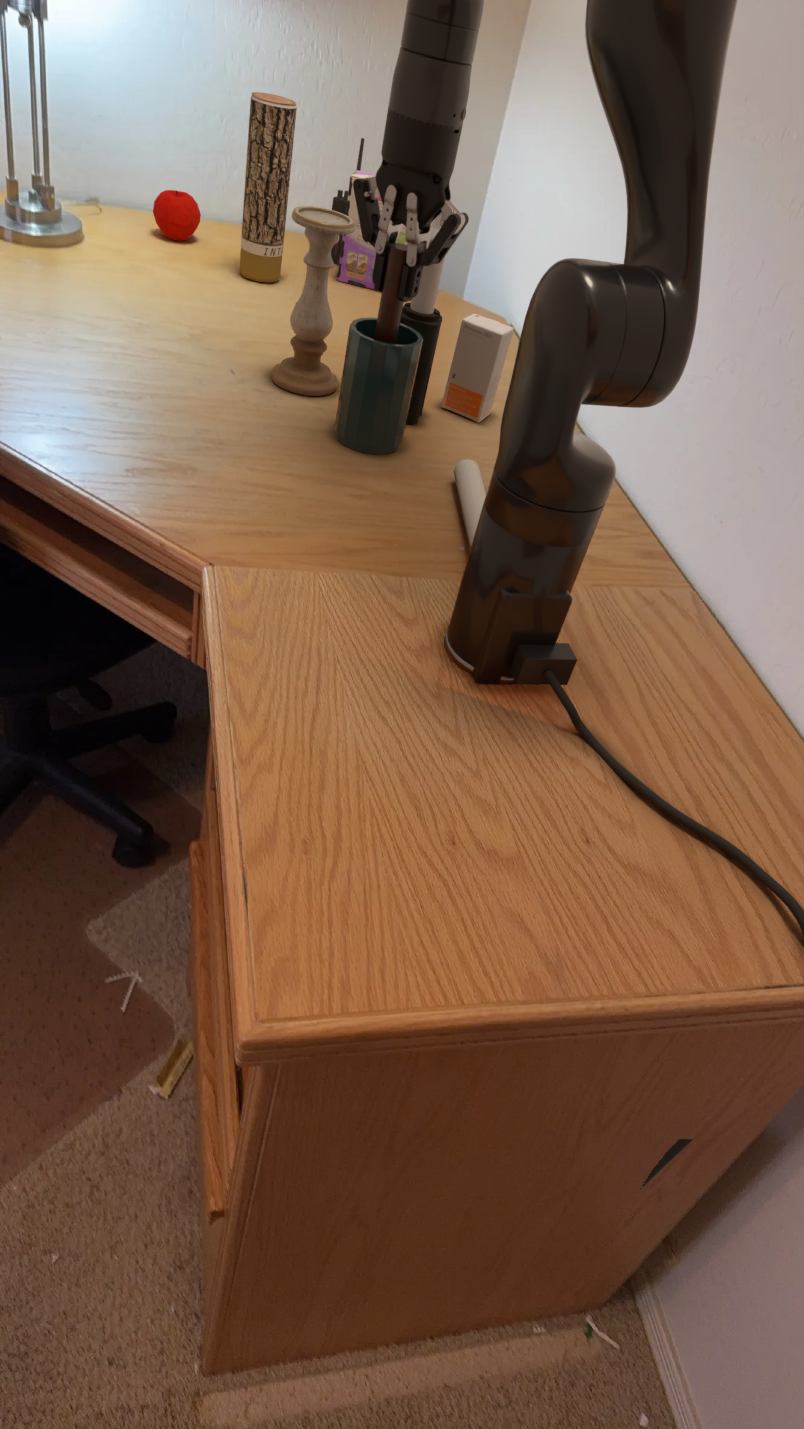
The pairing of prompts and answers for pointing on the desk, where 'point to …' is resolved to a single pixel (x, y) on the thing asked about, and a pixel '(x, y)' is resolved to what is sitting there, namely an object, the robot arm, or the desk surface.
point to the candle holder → (313, 305)
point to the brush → (391, 296)
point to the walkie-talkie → (343, 208)
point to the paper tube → (266, 185)
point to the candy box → (359, 244)
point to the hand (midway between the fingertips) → (393, 294)
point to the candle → (424, 328)
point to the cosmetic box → (477, 367)
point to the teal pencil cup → (376, 388)
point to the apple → (176, 214)
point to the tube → (470, 494)
